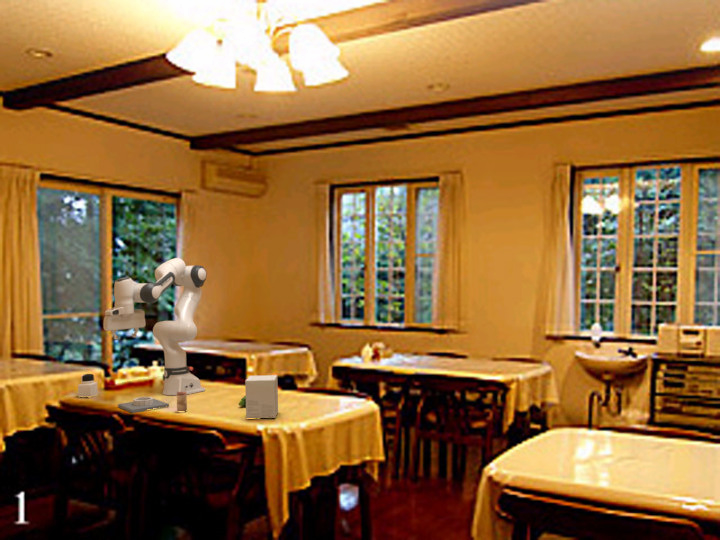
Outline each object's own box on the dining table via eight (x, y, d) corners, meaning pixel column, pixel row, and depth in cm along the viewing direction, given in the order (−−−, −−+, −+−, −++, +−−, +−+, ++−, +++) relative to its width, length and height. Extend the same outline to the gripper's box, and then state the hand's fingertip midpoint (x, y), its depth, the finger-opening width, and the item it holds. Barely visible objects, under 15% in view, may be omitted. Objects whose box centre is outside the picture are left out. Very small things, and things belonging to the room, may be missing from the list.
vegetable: (269, 384, 320) (241, 391, 304) (274, 397, 319) (246, 405, 302) (259, 389, 324) (231, 397, 307) (264, 402, 322) (237, 411, 306)
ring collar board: (153, 401, 323) (153, 393, 323) (169, 406, 310) (168, 398, 310) (118, 407, 311) (117, 398, 311) (132, 413, 298) (132, 404, 298)
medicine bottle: (97, 395, 341) (97, 373, 341) (90, 398, 334) (90, 375, 334) (85, 395, 342) (84, 373, 341) (77, 398, 334) (77, 375, 334)
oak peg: (184, 410, 302) (183, 391, 302) (188, 411, 299) (188, 392, 299) (175, 411, 300) (175, 392, 299) (179, 413, 296) (179, 393, 296)
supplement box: (278, 412, 294) (278, 374, 294) (275, 419, 281) (274, 379, 281) (250, 413, 294) (249, 375, 294) (245, 420, 281) (244, 380, 281)
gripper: (141, 308, 324) (142, 335, 324) (101, 311, 310) (102, 340, 310) (147, 308, 320) (148, 336, 320) (107, 312, 305) (108, 340, 306)
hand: (125, 338), depth 315 cm, fingers open, 8 cm apart
